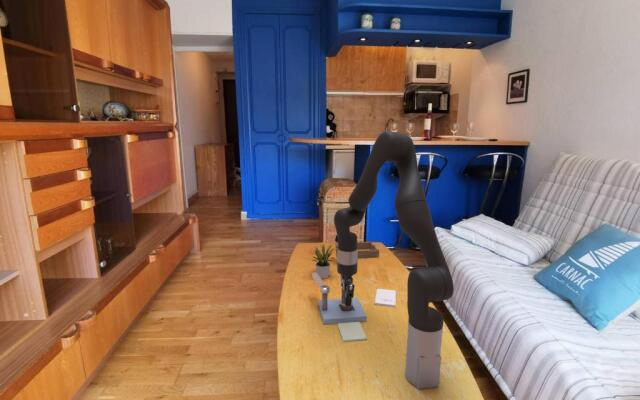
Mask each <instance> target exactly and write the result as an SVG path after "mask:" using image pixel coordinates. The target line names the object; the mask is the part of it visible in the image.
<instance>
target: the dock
mask: <svg viewBox="0 0 640 400" xmlns="http://www.w3.org/2000/svg"><path fill="white" fill-rule="evenodd" d="M328 294H329V293H327V294H323V293H321V298H322V299H319V300H318V303H317V305H318V308H319V309H318V310H319V312H320V316H321V320H322V324H323V325H335V324H338V323H350V322H360V323H361V322H367V317H368V315H367V314H366V311H365V310H364V308H363V306H362V303H361V302H360V300H359V298H358V297H353V298H352V301H353V304H352V310H351V311H342V310H341V298H331V299H329V298H328Z"/></svg>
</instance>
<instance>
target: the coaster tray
mask: <svg viewBox="0 0 640 400" xmlns="http://www.w3.org/2000/svg"><path fill="white" fill-rule="evenodd" d="M357 253H358V259H373V258H374V259H375V258H376V259H377V258H380V250H379V248H378V247H377V246H376V245H375V243H374V242H373V241H362V242H360V241H357Z"/></svg>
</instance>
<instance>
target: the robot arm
mask: <svg viewBox="0 0 640 400" xmlns="http://www.w3.org/2000/svg"><path fill="white" fill-rule="evenodd" d="M387 162H388V163H394V164H395V165H396V168H397V171H398V176H399V184H398V187H397V191H396V193H395V199H394V207H395V212H396V215H397V221H398V224H399V227H400V228H401V229H402V230H403V232H404V233H405V234H406V235H407V237H409V239H410V240H411V241H412V242H413V243H414V244H415V245H416V246H417V247H418V248H419V250H420V251H421V253H422V255H423V257H424V259H425V263H426V266H427V267H419V268H418V267H417V268H414V269H412V270H411V271H410V272H409V274H408V276H407V284H406V285H407V288H406V289H407V290H406V291H407V293H406V294H407V297H406V298H407V302H406V303H407V304H406V305H407V306H406V309H407V313H408V321H407V322H408V323H407V336H406V354H405V369H404V374H405V375H404V376H405V378H406V380H407V382H409V383H410V384H412V385H414V386H415V387H416V388H417V389H418V390H421V389H432V388H439V386H440V376H441V367H442V365H441V364H442V356H441V354H442V343H443V341H442V340H443V332H444V331H443V330H444V316H443V314H442V312H440V311H439V310H438V309H436V308H434V307H432V306H430V304H431V303H436V302H443V301H446V300H450V299H451V298H452V297H453V295H454V291H455V290H454V280H453V277H452V274H451V271H450V268H449V265H448V263H447V261H446V258H445V255H444V253H443V250H442V248H441V245H440V242H439V239H438V236H437V233H436V229H435V226H434V223H433V222H434V221H433V218H432V214H431V210H430V207H429V203H428V199H427V197H426V194H425V190H424V186H423V183H422V178H421V175H420V172H419V164H418V160H417V152H416V148H415V143H414V141H413V139H412V138H411V136H410V135H408V134H406V133H401V132H396V131H391V130H385V131H383V132H381V133H380V134H379V135H378V136H377V138H376V139H375V142H374V144H373V146H372V148H371V151H370V153H369V156H368V158H367V160H366V163H365V166H364V168H363V170H362V174H361V176H360V178H359V180H358V182H357V183H356V186H355V187H354V188H353V190H352V192H351V193H350V195H349V197H348V200H347V201H348V205H349V206H347V207H344V208H339V209H338V210H337V211H336V212H335V213H334V216H333V223H334V228H335V231H336V235H337V236H338V253H337V257H336V266H337V267H336V272H337V274H339V275H340V287H341V289H342V288H343V290H344V291H345V306H351V298H355V297H354V292H355V287H356V286H355V284H354V278H353V276H354V275H356V274H357V273H358V259H359V258H358V253H357V251H358V250H357V242H358V236H357V234H356V233H355V232H352V231H351V229H350V228H351V227H354V226H357V225H359V224H360V223H361V222H362V221H363V219H364V217H365V213H366V211H367V207H368V206H369V204H370V203H371V201H372V200H373V199H374V197H375V195H376V193H377V190H378V176H379V172H380V170H381V168H382V167H383V166H384V165H385V163H387ZM346 287H347V289H346Z"/></svg>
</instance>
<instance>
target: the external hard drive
mask: <svg viewBox="0 0 640 400" xmlns="http://www.w3.org/2000/svg"><path fill="white" fill-rule="evenodd" d="M375 293H376V294H375V299H374V305H375V306H380V307H385V306H386V307H389V308H390V307H391V308H396V305H397V304H396V302H397V301H396V299H397V290H394V289H385V288H377V289H376V291H375Z"/></svg>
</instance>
